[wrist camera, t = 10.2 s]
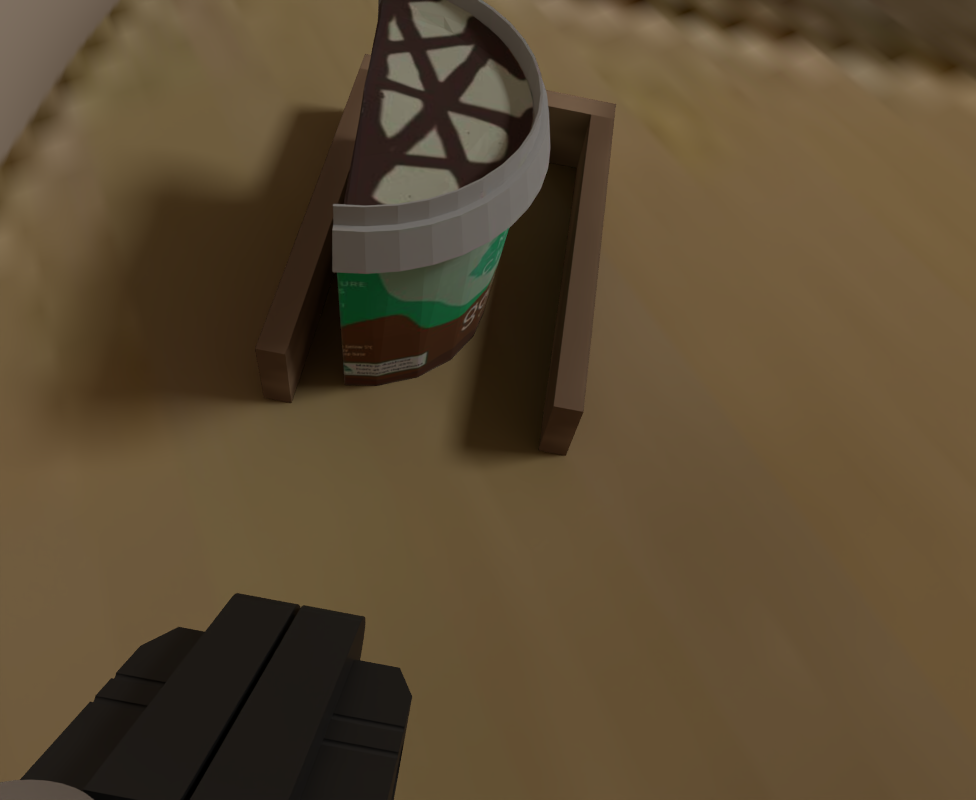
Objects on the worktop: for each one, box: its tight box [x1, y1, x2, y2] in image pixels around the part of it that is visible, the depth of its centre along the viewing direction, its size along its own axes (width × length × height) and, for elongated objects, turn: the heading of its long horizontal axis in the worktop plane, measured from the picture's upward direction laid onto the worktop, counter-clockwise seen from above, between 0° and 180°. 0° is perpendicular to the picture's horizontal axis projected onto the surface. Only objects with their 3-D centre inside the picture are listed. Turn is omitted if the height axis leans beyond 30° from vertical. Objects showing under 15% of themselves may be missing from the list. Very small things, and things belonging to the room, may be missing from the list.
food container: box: [332, 0, 550, 386], centre depth 30 cm, size 12×6×10 cm, turn 177°
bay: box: [255, 54, 616, 456], centre depth 34 cm, size 11×16×3 cm
